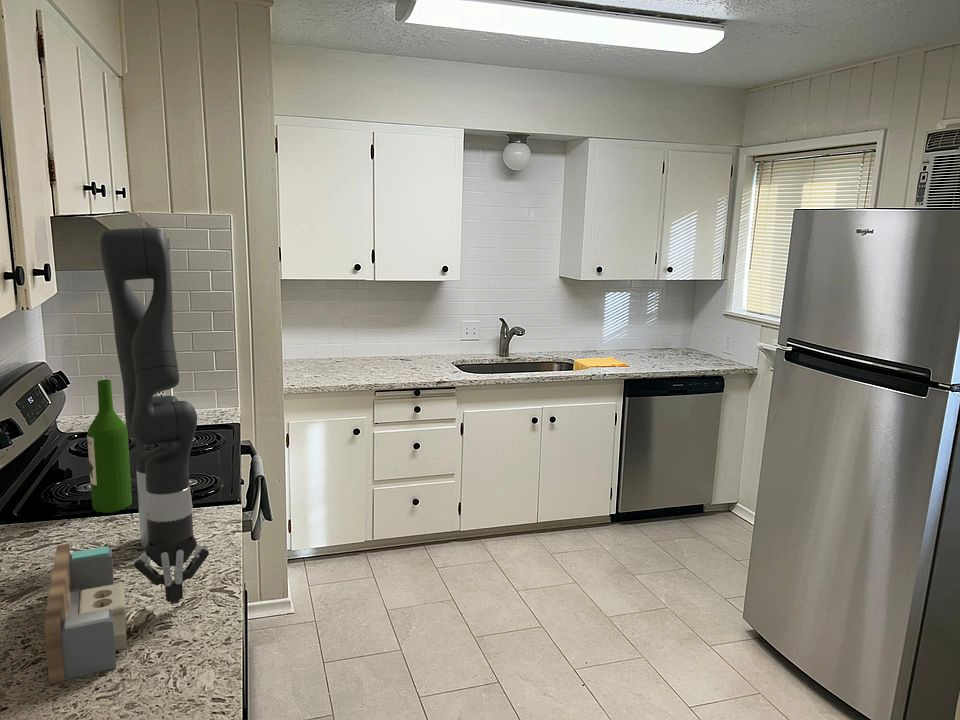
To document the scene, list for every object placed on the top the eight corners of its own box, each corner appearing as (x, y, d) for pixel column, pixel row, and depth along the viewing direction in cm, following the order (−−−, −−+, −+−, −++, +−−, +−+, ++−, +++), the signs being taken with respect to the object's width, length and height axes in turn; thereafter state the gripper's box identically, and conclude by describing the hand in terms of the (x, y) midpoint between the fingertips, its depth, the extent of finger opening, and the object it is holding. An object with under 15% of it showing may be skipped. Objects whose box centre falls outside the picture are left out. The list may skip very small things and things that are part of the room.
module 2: (66, 666, 112) (61, 615, 111) (115, 655, 115) (112, 606, 114) (64, 680, 108) (60, 628, 107) (115, 668, 112) (112, 617, 110)
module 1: (73, 594, 135) (69, 551, 133) (114, 586, 138) (111, 544, 137) (72, 603, 131) (68, 560, 130) (114, 595, 134) (111, 553, 133)
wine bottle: (87, 506, 179) (78, 380, 174) (125, 497, 185) (117, 376, 180) (99, 516, 173) (89, 385, 168) (137, 507, 179) (129, 381, 174)
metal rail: (72, 603, 131) (70, 585, 131) (81, 601, 132) (80, 584, 131) (66, 666, 112) (64, 645, 111) (76, 663, 113) (75, 643, 112)
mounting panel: (61, 595, 134) (56, 545, 133) (73, 592, 135) (69, 543, 134) (49, 685, 107) (44, 624, 106) (64, 681, 108) (59, 621, 106)
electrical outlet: (76, 638, 113) (80, 589, 129) (77, 661, 114) (81, 610, 130) (125, 628, 117) (123, 581, 132) (127, 650, 117) (125, 601, 133)
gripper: (206, 499, 132) (210, 585, 135) (127, 510, 127) (133, 600, 129) (211, 513, 126) (215, 603, 129) (128, 525, 120) (134, 619, 123)
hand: (174, 601), depth 129 cm, fingers closed
